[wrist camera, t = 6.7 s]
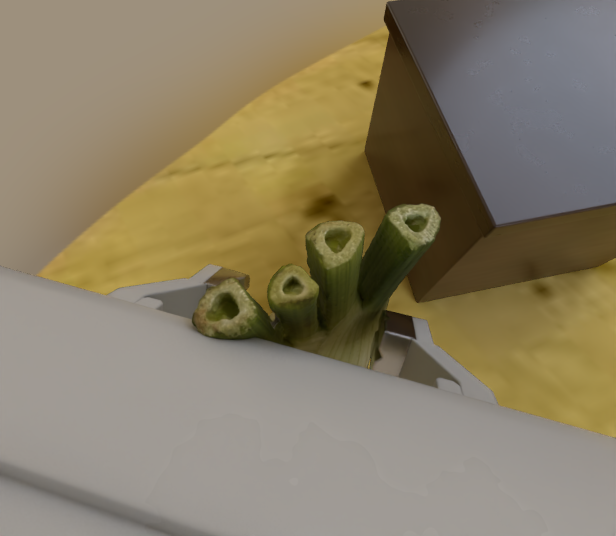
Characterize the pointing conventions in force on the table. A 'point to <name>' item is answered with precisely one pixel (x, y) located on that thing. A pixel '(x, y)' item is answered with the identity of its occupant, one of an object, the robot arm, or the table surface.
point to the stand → (500, 136)
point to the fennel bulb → (327, 288)
